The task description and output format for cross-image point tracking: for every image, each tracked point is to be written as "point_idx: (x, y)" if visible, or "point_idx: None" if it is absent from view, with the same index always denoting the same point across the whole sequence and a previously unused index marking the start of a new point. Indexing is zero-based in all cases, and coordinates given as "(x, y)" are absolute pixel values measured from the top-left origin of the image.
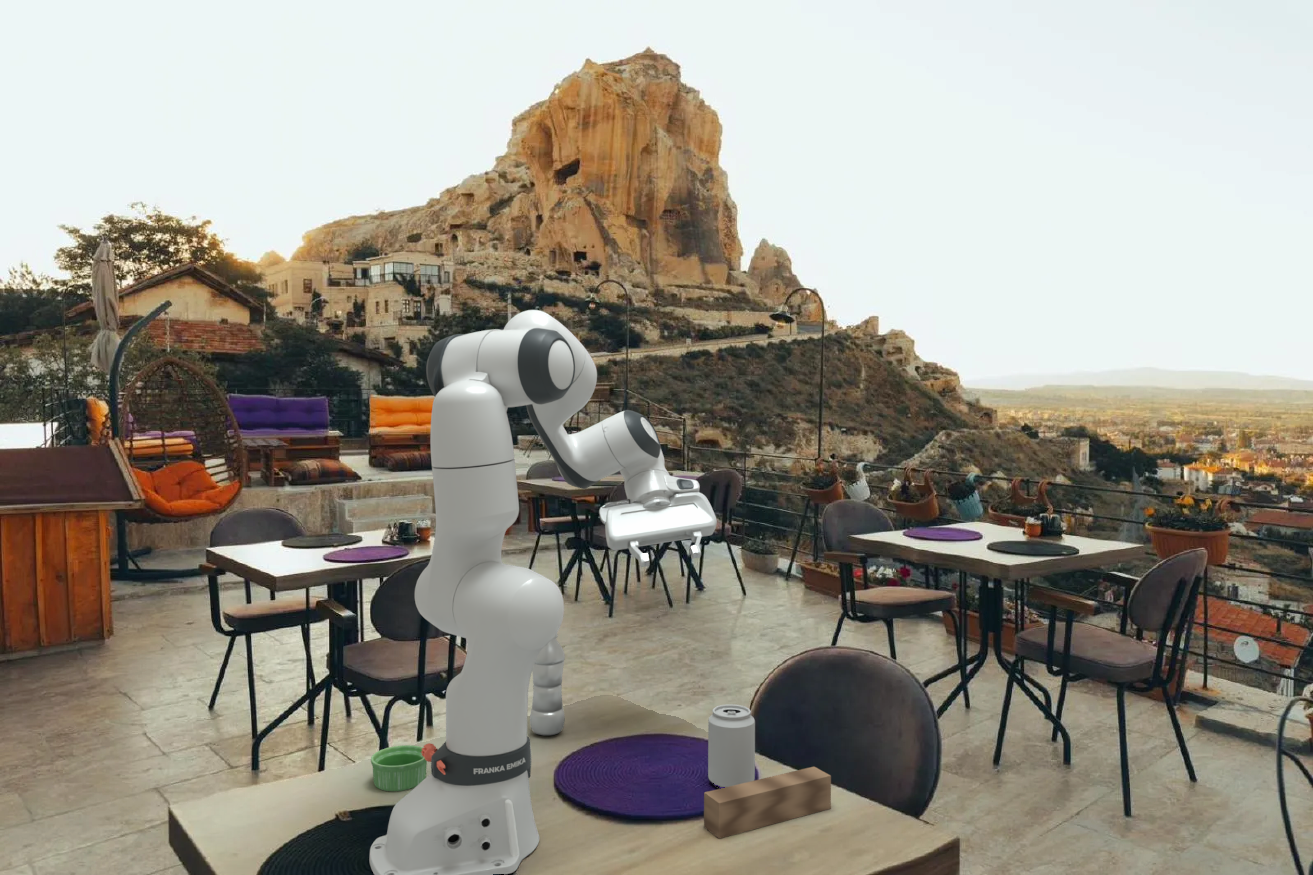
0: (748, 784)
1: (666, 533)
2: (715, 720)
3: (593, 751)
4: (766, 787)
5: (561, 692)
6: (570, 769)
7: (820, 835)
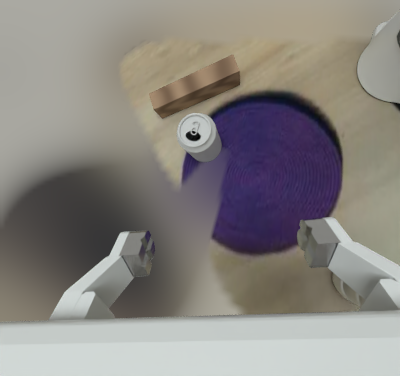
0: (205, 82)
1: (224, 316)
2: (211, 123)
3: None
4: (195, 77)
5: (353, 291)
6: (326, 188)
7: (175, 72)
